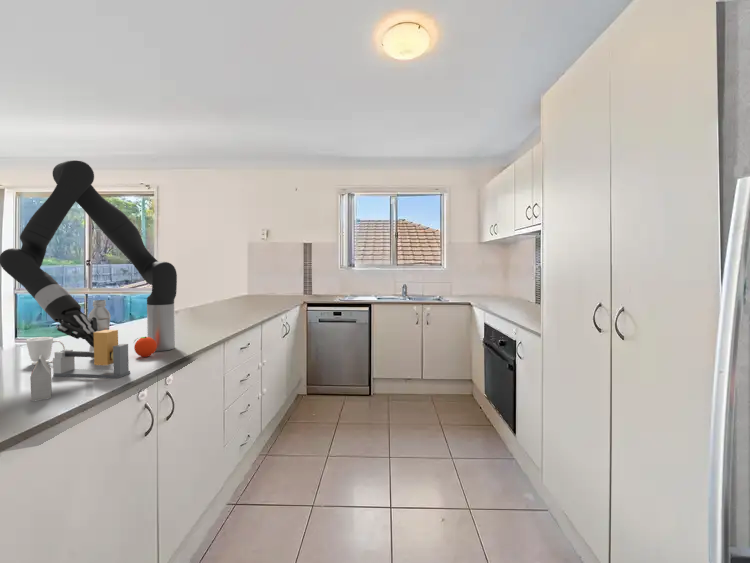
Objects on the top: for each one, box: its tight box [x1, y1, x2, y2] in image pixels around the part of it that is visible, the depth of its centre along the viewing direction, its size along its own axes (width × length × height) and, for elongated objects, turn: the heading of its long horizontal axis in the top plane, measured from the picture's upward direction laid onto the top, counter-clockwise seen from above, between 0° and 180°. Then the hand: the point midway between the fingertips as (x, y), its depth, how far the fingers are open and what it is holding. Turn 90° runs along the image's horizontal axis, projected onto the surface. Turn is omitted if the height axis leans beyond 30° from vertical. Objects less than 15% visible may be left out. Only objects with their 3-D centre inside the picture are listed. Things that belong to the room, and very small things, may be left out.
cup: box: [25, 336, 66, 366], centre depth 136 cm, size 7×10×8 cm
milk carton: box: [30, 354, 53, 402], centre depth 103 cm, size 4×7×10 cm, turn 36°
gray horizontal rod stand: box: [52, 343, 131, 379], centre depth 122 cm, size 20×5×9 cm, turn 86°
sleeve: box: [93, 329, 119, 366], centre depth 122 cm, size 4×5×10 cm
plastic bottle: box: [87, 299, 112, 360], centre depth 141 cm, size 6×7×20 cm
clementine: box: [133, 336, 157, 358], centre depth 146 cm, size 8×7×7 cm
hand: (98, 345), depth 122 cm, fingers closed
